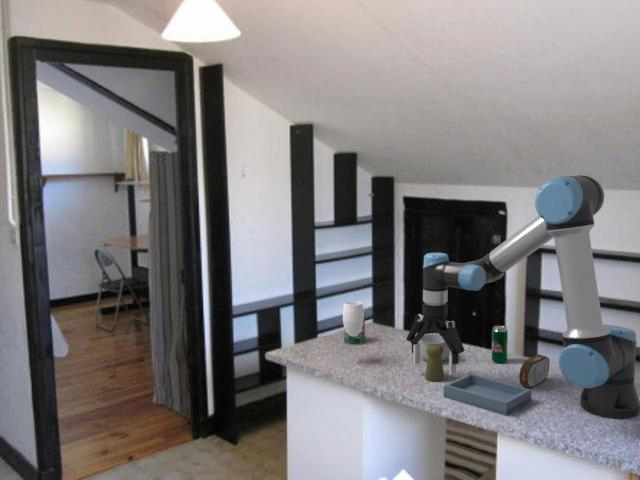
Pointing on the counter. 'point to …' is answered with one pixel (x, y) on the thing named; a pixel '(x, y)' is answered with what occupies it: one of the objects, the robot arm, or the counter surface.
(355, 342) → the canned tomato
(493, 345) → the soda can
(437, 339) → the teacup
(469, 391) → the tray
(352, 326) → the cup
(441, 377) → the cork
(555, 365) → the counter surface
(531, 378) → the tin
